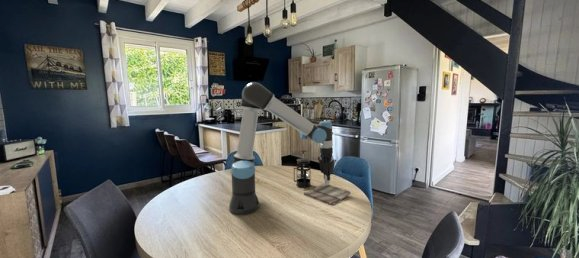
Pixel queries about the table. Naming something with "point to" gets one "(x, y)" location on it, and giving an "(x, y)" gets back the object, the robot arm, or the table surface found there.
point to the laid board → (322, 197)
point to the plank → (333, 191)
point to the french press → (303, 172)
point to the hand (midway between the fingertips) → (327, 184)
